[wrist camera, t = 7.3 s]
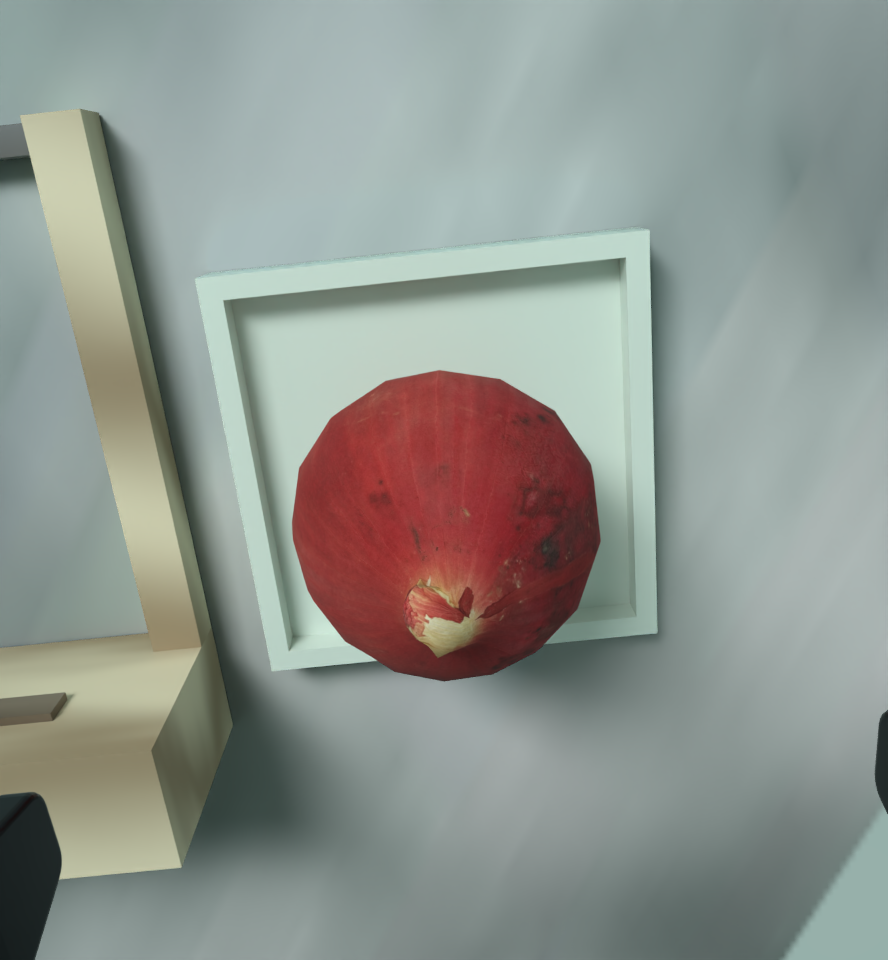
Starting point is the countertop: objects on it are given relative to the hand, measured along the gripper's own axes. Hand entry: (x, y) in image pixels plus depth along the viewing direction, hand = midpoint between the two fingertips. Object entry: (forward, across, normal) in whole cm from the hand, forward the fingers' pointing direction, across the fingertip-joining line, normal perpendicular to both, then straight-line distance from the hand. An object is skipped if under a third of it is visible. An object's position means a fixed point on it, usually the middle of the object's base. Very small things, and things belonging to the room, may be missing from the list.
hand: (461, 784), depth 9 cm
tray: (+12, 0, 0) cm, 12 cm away
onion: (+12, 0, 0) cm, 12 cm away
